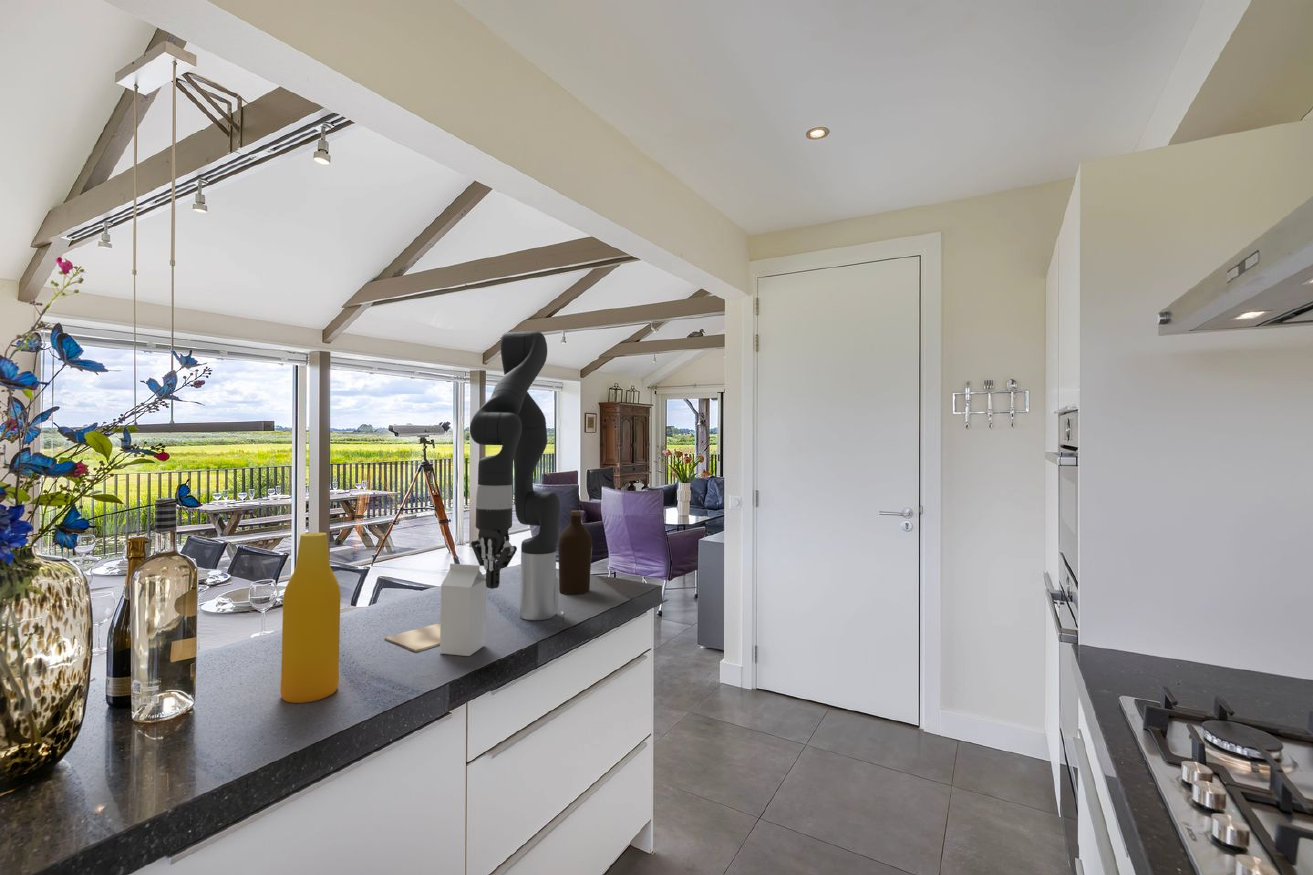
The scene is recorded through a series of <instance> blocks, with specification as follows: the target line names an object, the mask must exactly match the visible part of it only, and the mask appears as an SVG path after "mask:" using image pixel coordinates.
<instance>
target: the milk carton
mask: <svg viewBox="0 0 1313 875" xmlns="http://www.w3.org/2000/svg"><path fill="white" fill-rule="evenodd" d="M480 567H481V566H480V565H479V564H476V565H475V564H463V563H462V564H461V563H449V569H448V571H447V572H446V576H445V577H444V579H443V581H442V583H441V585H440V586H441V587H440V588H441V589H440V622H439V623H440V645H439V654H444V655H451V656H453V655H454V656H461V657H462V656H464V657H470V656H472V655H473V654H474V653H476V652H477V651H479V650H481V649H482V648H483V647H485V646H486V625H487V624H486V620H487V618H486V615H487V614H486V613H487V587H486V576H485V575H484V574H483V573H482V572H481V570H480V569H481V568H480Z"/></svg>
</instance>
